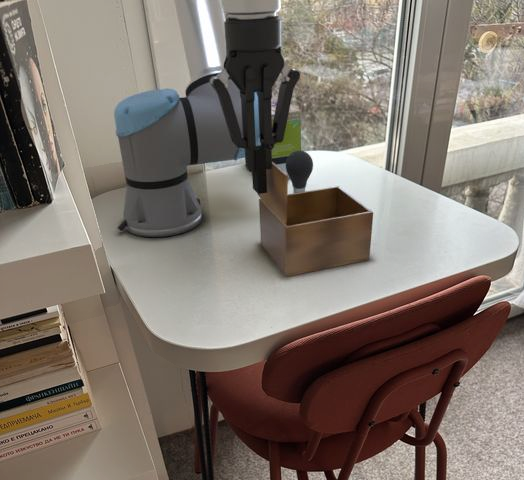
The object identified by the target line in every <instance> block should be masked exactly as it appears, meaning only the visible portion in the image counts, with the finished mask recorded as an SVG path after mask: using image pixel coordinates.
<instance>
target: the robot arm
mask: <svg viewBox="0 0 524 480" xmlns="http://www.w3.org/2000/svg"><path fill="white" fill-rule="evenodd" d="M173 2H174V5H175V10H176V17H177V20H178V25H179V30H180V36H181V40H182V44H183V49H184V53H185V59H186V63H187V68H188V72H189V78H190V81H189V82H188V83H187V86H186V87H185V90H184V92H185V96H184V97H180V95H179V93H178V91H177V90H175V89H173V88H162V89H160V88H157V89H150V90H146V91H143V92H139V93H136V94H132V95H130V96H128V97H126V98H123V99H122V100H121V101H119V102H118V103H117V104H116V106H115V108H114V111H113V116H114V123H115V136H116V137H117V139H118V144H119V150H120V156H121V161H122V167H123V172H124V178H125V183H126V192H125V200H124V207H123V213H122V214H123V215H122V217H123V219H122V220H123V221H122V222H121V223H120V225H119V226H118V227H117V229H118V230H119V231H120V232H123V231H124V229H125V230H126V231H127V232H129V233H131V234H132V235H135V236H139V237H145V238H163V237H171V236H176V235H180V234H184V233H186V232H188V231H190V230H193V229H195V228H196V227H197V226H198V225H199V224H201V222H202V220H203V216H202V215H203V213H202V208H201V199H199V198H198V197H197V196H196V194H195V192H194V189H193V188H192V185H191V184H190V182H189V177H188V166H195V165H202V164H203V165H204V164H211V163H218V162H227V161H238V160H240V159H244V161H245V168H246V169H247V171H248V172H249V173H251V177H252V189H253V190H254V192H255V193H256V194H257V195H258V194H262V193H267V176H266V169H271V167H272V149H273V148H274V144H276V143H278V142H279V143H281V142H282V141H283V139H284V135H285V129H286V124H287V119H288V114H289V109H290V104H291V103H292V98H293V93H294V89H295V87H296V85H297V83H298V82H299V79H300V78H301V72H300V71H299V70H297V69H294V68H292V67H290V66H289V65H287V64H286V60H285V57H284V55H283V53H282V19H281V18H280V16H279V15H277V12H279V11H280V10H281V0H173ZM225 15H227V18H226V17H225ZM278 78H279V79H280V84H279V88H278V94H277V97H278V99H277V104H276V110H275V115H274V120H273V126H272V113H271V99H272V97H273V87H274V85H275V83H276V82H277V80H278ZM291 105H292V104H291ZM260 144H261V146H260Z"/></svg>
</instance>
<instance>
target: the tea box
mask: <svg viewBox="0 0 524 480" xmlns="http://www.w3.org/2000/svg"><path fill="white" fill-rule="evenodd" d="M277 99H278V96H272V99H271V113H272V126H273V120H274V115H275V110H276V104H277ZM260 146H261V144H260ZM298 150H301V151H302V111H301V110H300V109H298V108H297V107H296V106H295V105H293V104H290V109H289V114H288V119H287V124H286V129H285V135H284V139H283V141H282V142H281V143H279V142H278V143H276V144H274V148H273V149H272V162H273V163H274V164H275V165H277V166H278V167H279V168H280V169H281V170H282V171H284V172H285V173H286V174H287V171H286V160H287V158H288V156H289V155H290V154H291V153H293V152H294V151H298ZM287 175H288V174H287ZM288 179H290V177H289V175H288Z"/></svg>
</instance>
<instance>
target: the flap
mask: <svg viewBox="0 0 524 480" xmlns="http://www.w3.org/2000/svg"><path fill="white" fill-rule="evenodd" d="M266 176H267V193H262V194H257V196H258V197H259V199H262V200H263V201H264V202H265V203H266V205H267V206H268V207H269V208H270V209H271V210H272V211H273V212H274V213H275V214H276V215H277V216H278V217H279V218H280V219H281V220H282V222H283V223H287V194H289V192H288V189H289V186H288V185H289V178H288V175H287V174H286V173H285V172H284V171H282V170H281V169H280V168H279V167H278V166H277V165H275V164H274V163H273V162H272V167H271V169H266Z"/></svg>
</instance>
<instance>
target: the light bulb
mask: <svg viewBox="0 0 524 480" xmlns="http://www.w3.org/2000/svg"><path fill="white" fill-rule="evenodd" d="M313 170H314V161H313V158H312V156H311V155H310V154H309V152H306V151H305V150H302V149H301V150H298V151H294V152H293V153H291V154H290V155H289V156H288V158H287V160H286V171H287V174H288V175H289V177H290V178H289V179H290V181H291V185H292V188H293V192H292V194H293V193H299V192H305V191H306V187H307V183H308V180H309V178H310V176H311V174H312V173H313Z"/></svg>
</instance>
